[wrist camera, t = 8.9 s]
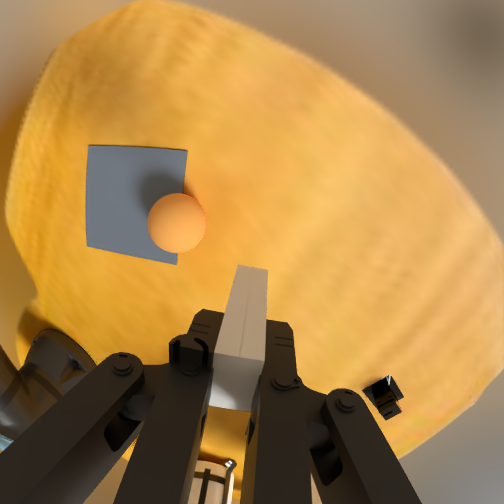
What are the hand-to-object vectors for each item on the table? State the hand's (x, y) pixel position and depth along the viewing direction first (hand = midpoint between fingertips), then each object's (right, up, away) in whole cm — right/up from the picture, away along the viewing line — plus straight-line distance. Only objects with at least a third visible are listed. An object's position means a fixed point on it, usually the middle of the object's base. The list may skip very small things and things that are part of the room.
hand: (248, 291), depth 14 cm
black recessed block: (+21, -20, +22) cm, 36 cm away
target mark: (-13, +7, +13) cm, 20 cm away
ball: (-7, +5, +11) cm, 13 cm away
